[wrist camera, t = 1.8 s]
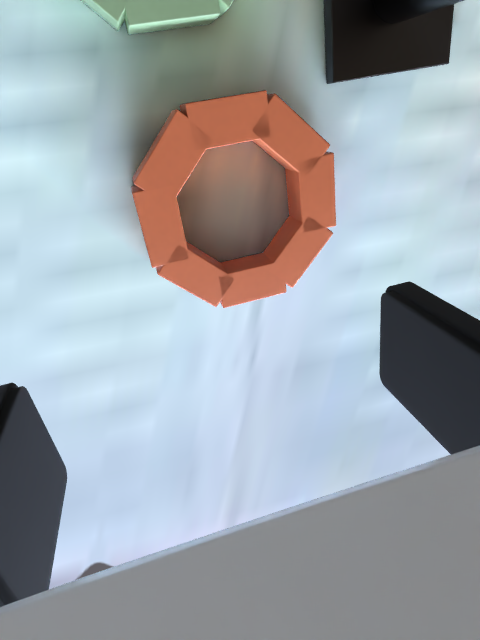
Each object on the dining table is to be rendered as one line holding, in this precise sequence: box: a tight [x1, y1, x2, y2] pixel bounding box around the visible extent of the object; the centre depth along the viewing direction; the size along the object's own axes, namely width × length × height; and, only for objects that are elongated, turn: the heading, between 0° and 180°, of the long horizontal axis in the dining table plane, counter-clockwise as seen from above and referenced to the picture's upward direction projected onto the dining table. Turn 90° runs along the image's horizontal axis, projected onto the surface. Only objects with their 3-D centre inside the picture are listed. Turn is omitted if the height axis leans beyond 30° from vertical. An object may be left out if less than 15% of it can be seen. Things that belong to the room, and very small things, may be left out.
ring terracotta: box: [131, 90, 336, 308], centre depth 26 cm, size 12×12×2 cm
